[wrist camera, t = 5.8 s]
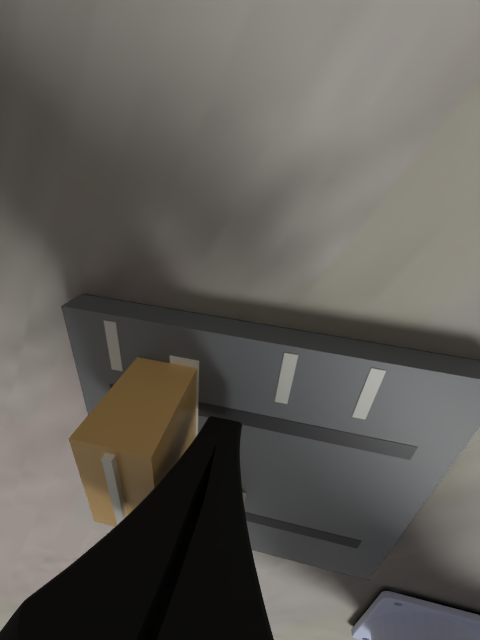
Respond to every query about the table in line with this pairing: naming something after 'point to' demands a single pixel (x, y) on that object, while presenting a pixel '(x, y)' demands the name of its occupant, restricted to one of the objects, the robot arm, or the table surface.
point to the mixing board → (301, 420)
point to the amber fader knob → (135, 436)
